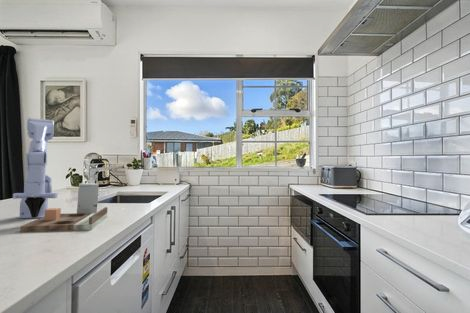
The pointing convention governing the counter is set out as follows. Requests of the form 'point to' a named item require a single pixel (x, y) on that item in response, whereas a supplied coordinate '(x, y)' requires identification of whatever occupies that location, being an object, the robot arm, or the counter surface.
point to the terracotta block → (52, 214)
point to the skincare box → (87, 198)
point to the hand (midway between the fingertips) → (34, 216)
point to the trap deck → (67, 222)
